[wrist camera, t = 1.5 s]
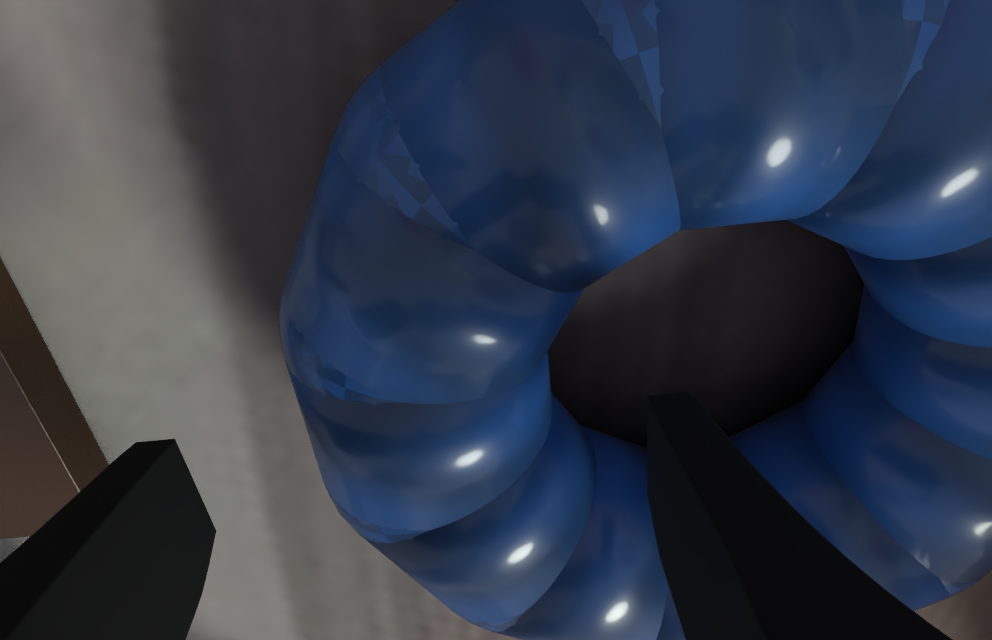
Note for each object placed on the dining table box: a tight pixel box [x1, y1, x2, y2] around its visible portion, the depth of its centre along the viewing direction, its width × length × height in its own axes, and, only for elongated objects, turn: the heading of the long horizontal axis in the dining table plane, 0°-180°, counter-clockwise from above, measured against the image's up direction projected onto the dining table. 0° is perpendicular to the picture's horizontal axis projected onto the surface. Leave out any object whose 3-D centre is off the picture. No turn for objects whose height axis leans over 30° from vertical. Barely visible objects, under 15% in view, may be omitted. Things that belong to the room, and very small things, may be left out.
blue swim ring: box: [279, 0, 992, 640], centre depth 13 cm, size 14×14×4 cm
